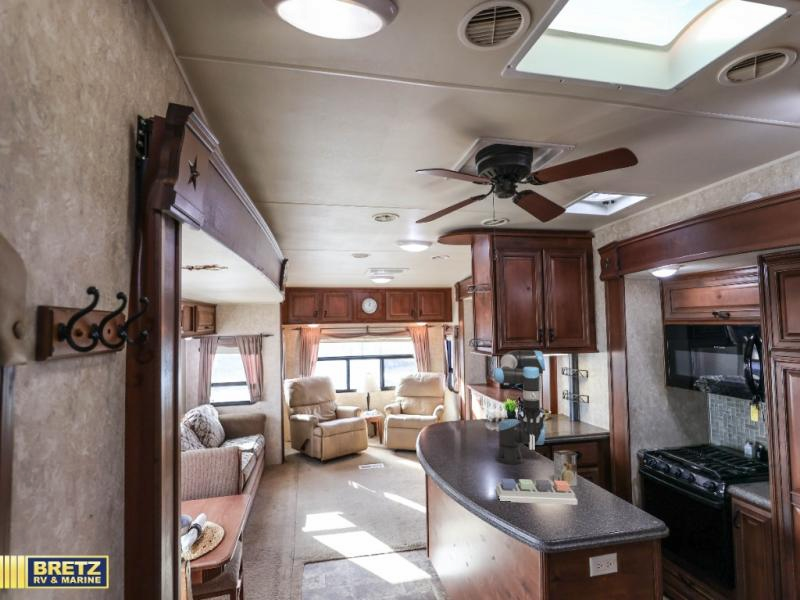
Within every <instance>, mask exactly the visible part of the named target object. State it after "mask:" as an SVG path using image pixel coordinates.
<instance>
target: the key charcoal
mask: <svg viewBox="0 0 800 600" xmlns="http://www.w3.org/2000/svg"><path fill="white" fill-rule="evenodd" d="M535 485H536V486H537V487H538V489H539V490H552V485H553V484H552V483H551V482H550V480H549V479H547V480H546V479H536V480H535Z"/></svg>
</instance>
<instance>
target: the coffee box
mask: <svg viewBox="0 0 800 600" xmlns="http://www.w3.org/2000/svg"><path fill="white" fill-rule="evenodd" d="M577 463H578V462H577V453H576V452H574V451H572V450H569V449H565V450H553V471H554V472H553V473H554V474H553V475H554V479H553V481H554V480H555V481H566V482H567V483H568V484H569V485H570V487H577V486H578V470H577V469H578V465H577Z"/></svg>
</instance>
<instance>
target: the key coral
mask: <svg viewBox="0 0 800 600" xmlns="http://www.w3.org/2000/svg"><path fill="white" fill-rule="evenodd" d="M553 485H554V487H555V488H556V490H557V491H570V488H571V486H570V485H569V484H568V483H567V482H566V481H555V480H554V479H553Z"/></svg>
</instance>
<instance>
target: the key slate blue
mask: <svg viewBox="0 0 800 600" xmlns="http://www.w3.org/2000/svg"><path fill="white" fill-rule="evenodd" d="M501 483H502V486H503V488H505V489H516V484H517V482H516V481H515V478H501Z"/></svg>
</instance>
